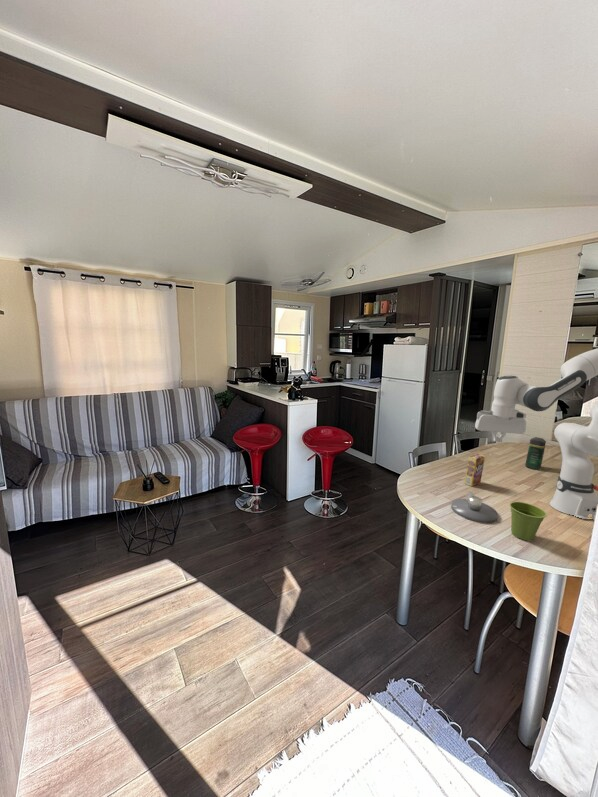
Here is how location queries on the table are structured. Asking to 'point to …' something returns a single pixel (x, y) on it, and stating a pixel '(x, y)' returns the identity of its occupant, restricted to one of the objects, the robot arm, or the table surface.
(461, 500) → the dial plate
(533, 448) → the coffee jar
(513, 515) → the plant pot
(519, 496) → the table surface
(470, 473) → the candy box
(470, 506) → the dial
